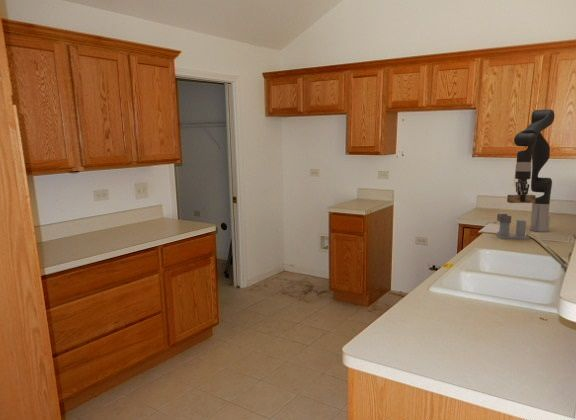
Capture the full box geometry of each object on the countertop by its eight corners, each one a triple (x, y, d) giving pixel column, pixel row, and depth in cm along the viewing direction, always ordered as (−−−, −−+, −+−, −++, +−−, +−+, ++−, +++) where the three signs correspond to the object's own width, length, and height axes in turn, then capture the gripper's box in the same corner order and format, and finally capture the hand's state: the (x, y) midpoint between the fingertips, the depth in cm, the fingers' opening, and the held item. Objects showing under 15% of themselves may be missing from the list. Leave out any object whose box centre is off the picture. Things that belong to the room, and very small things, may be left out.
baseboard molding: (475, 233, 255) (496, 235, 248) (475, 228, 254) (497, 230, 248) (485, 225, 280) (504, 227, 273) (485, 221, 279) (505, 223, 273)
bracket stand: (523, 236, 241) (525, 214, 239) (529, 239, 234) (530, 216, 232) (496, 235, 244) (497, 213, 242) (500, 238, 236) (501, 215, 235)
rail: (531, 201, 229) (532, 194, 228) (535, 202, 225) (535, 195, 224) (507, 201, 230) (507, 194, 229) (510, 203, 226) (510, 195, 226)
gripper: (536, 171, 217) (533, 203, 220) (525, 169, 231) (523, 199, 234) (520, 171, 218) (518, 203, 221) (511, 169, 232) (509, 199, 235)
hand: (521, 201), depth 227 cm, fingers closed on rail, 4 cm apart
